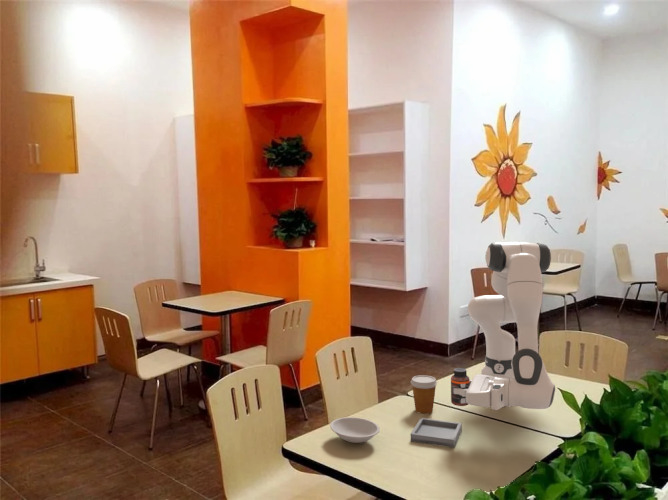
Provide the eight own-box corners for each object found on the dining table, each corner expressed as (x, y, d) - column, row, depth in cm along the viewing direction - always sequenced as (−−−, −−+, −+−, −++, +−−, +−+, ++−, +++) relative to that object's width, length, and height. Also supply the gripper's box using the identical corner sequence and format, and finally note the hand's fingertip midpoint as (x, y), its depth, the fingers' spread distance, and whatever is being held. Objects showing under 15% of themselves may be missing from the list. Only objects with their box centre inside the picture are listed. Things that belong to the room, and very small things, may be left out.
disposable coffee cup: (436, 416, 204) (436, 383, 202) (410, 414, 206) (409, 382, 204) (437, 406, 213) (437, 375, 212) (411, 405, 215) (411, 374, 214)
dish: (390, 442, 183) (389, 427, 183) (358, 457, 173) (358, 441, 173) (351, 427, 196) (351, 413, 195) (320, 440, 186) (320, 425, 186)
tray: (421, 424, 197) (420, 417, 196) (461, 430, 191) (461, 423, 191) (410, 441, 184) (410, 433, 183) (454, 447, 178) (454, 439, 178)
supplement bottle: (468, 407, 181) (468, 373, 180) (449, 405, 183) (449, 371, 182) (470, 401, 187) (470, 367, 186) (452, 399, 189) (452, 366, 188)
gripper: (503, 371, 189) (461, 367, 194) (496, 391, 170) (450, 387, 175) (503, 389, 190) (461, 385, 195) (496, 412, 171) (450, 407, 176)
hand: (455, 386), depth 185 cm, fingers closed on supplement bottle, 6 cm apart
